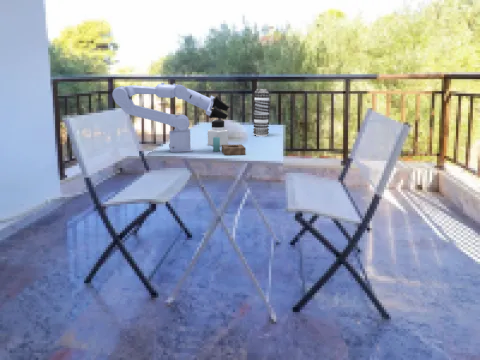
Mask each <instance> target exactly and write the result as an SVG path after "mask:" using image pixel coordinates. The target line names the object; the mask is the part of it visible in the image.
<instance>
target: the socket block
mask: <svg viewBox="0 0 480 360" xmlns="http://www.w3.org/2000/svg"><path fill="white" fill-rule="evenodd" d="M246 152H247V151H246V147H245V146H244V145H243V144H242V143H241V144H239V143H238V144H228V145H222V146H221V153H222V154H223V155H224V156H245V155H246Z"/></svg>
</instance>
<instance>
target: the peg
mask: <svg viewBox="0 0 480 360" xmlns="http://www.w3.org/2000/svg"><path fill="white" fill-rule="evenodd" d="M212 148H213V150H212V152H215V153H216V152H217V153H218V152H220V151H221V146H220V137H213V146H212Z"/></svg>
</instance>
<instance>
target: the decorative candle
mask: <svg viewBox="0 0 480 360" xmlns="http://www.w3.org/2000/svg"><path fill="white" fill-rule="evenodd" d="M269 94H270V91H269V90H268V89H266V88H257V89H256V90H255V91H254V99H253V101H252V103H254V104H253V110H254V111H253V115H254V119H253V128H252V129H253V132H252V133H253V136H254V135H256V136H255V137H268V136H267V135H269V131H270V129H269V128H270V126H269V124H270V123H269V115H270V108H269V107H270V104H271V101H270V97H269Z"/></svg>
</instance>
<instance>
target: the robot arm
mask: <svg viewBox="0 0 480 360" xmlns="http://www.w3.org/2000/svg"><path fill="white" fill-rule="evenodd" d="M137 94H138V95H156V96H157V97H158V98H166V99H173V98H177V100H183V101H185V102H187V104H191V105H193V106H195V107H197V108H199V109H202V110H204V111H205V115H207V116H208V118H210V119H220V120H226V119H228V118H227V117H228V114H227V113H226V112H228V110H229V108H230V107H229V106H228V105H227V104H226V103H224V101H222V100H221V99H220V97H219V96H217V95H216V96H213V95H210V97H209V96H206V95H204V94H201V92H200V93H199V92H198V91H195V90H193V89H190V88H186V86H185V85H183V84H176V83H172V84H169V83H167V84H165V82H161V83H158V84H157V85H155V86H148V85H147V86H146V85H135V84H133V85H125V86H124V85H121V86H118V87H115V88H114V89H113V91H112V93H111V95H112V98H113V100H114V103H115V104H116V105H117V106H118V107H120V109H122V110H123V111H124V112H125V114H126V115H130V116H134V117H138V118H141V119H145V120H150V121H154V122H158V123H161V124H165V125H167V126H170V127H173V128H174V129H173V130H169V131H168V132H169V135H168V137H169V143H168V148H169V150H170V151H169V152H170V153H181V152H182V153H185V152H193V149H192V148H191V129H190V128H189V127H190V119H189V117H188V116H187V115H185V114H175V113H174V114H172V113H167V112H163V111H160V110H156V109H153V108H149V107H144V106H140V105H137V104H135V103H134V102H133V100H132V96H133V97H134V96H135V95H137ZM224 111H225V112H224Z"/></svg>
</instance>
